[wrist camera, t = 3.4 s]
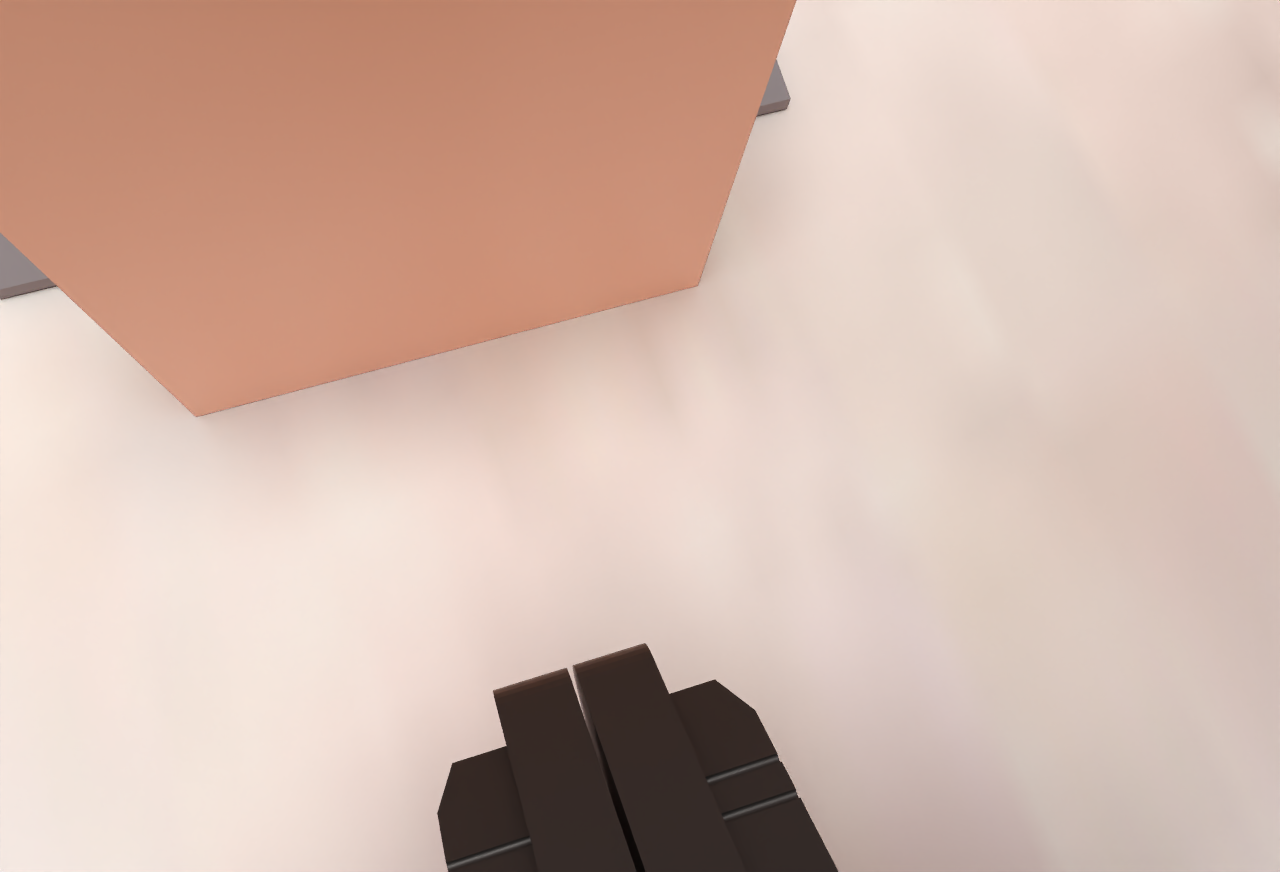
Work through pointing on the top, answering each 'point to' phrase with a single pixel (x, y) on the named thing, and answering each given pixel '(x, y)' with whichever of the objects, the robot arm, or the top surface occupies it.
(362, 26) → the tile
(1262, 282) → the top surface
